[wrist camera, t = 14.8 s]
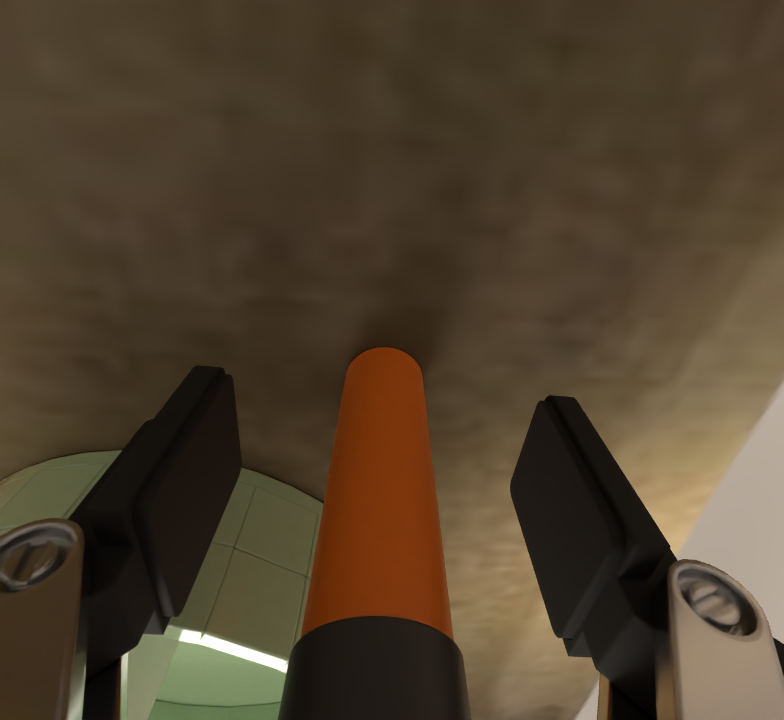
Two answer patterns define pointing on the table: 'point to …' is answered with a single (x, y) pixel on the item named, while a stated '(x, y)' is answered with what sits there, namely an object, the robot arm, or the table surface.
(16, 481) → the bowl
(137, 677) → the white marker
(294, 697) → the orange marker
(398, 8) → the table surface
